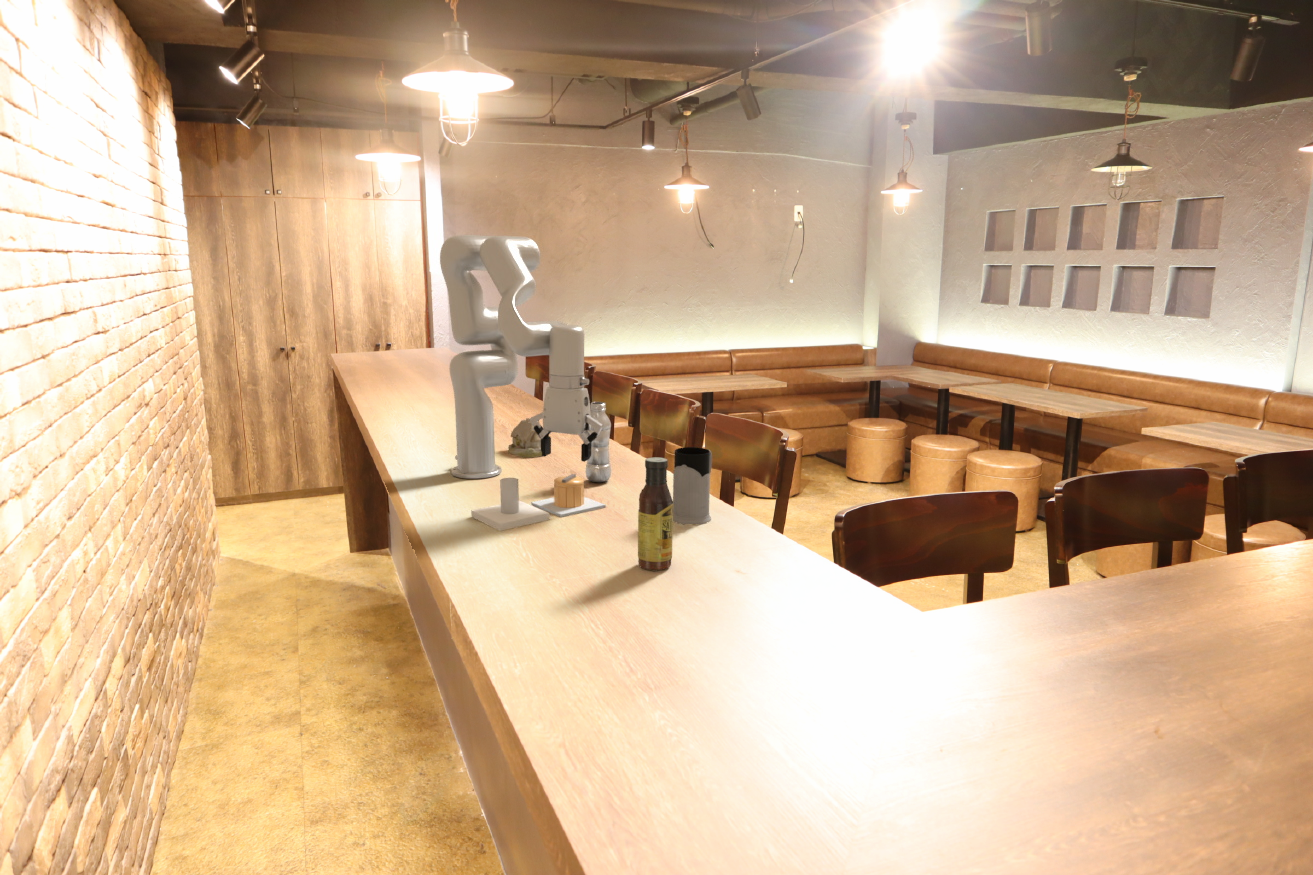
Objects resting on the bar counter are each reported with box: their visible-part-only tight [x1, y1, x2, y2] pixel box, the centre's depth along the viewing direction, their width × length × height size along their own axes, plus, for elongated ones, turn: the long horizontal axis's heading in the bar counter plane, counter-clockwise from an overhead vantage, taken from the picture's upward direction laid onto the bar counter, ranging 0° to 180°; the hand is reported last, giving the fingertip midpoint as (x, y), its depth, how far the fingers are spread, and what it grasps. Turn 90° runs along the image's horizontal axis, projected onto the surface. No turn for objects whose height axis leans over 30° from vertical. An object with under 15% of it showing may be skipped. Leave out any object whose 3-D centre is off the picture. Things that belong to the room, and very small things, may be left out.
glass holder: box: [672, 446, 713, 525], centre depth 180 cm, size 9×14×15 cm, turn 152°
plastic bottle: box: [585, 401, 612, 483], centre depth 206 cm, size 6×7×20 cm
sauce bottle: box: [637, 456, 674, 572], centre depth 149 cm, size 6×6×20 cm
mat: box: [530, 496, 607, 518], centre depth 187 cm, size 12×12×1 cm
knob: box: [553, 473, 585, 508], centre depth 186 cm, size 7×7×6 cm
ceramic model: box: [507, 417, 543, 459], centre depth 238 cm, size 14×11×10 cm
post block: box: [470, 477, 550, 531], centre depth 177 cm, size 12×12×8 cm
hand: (565, 457), depth 185 cm, fingers open, 9 cm apart
